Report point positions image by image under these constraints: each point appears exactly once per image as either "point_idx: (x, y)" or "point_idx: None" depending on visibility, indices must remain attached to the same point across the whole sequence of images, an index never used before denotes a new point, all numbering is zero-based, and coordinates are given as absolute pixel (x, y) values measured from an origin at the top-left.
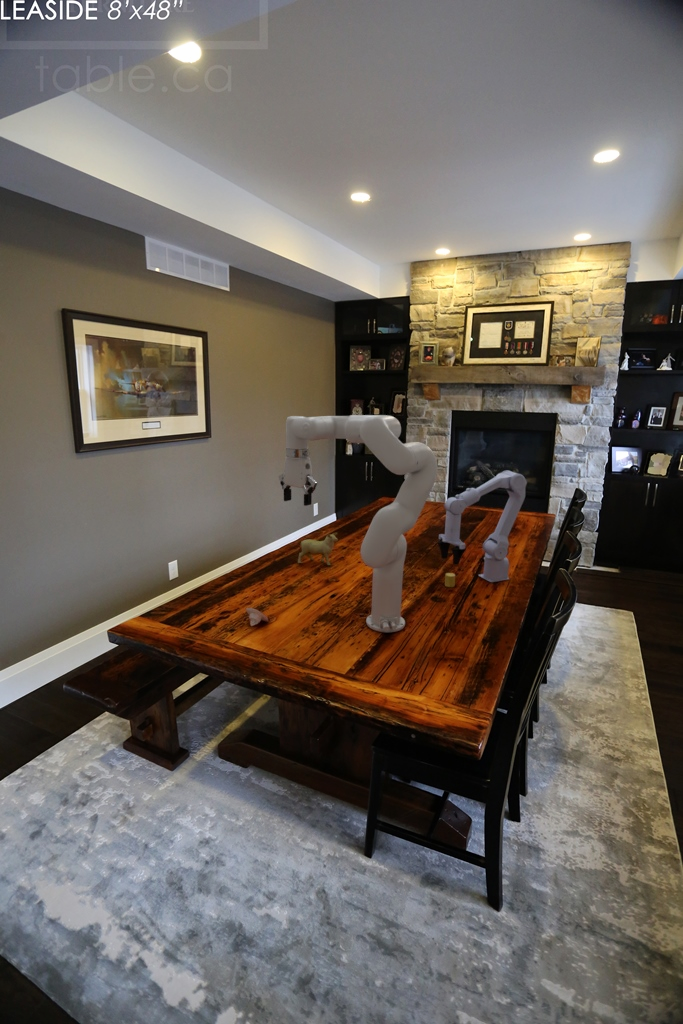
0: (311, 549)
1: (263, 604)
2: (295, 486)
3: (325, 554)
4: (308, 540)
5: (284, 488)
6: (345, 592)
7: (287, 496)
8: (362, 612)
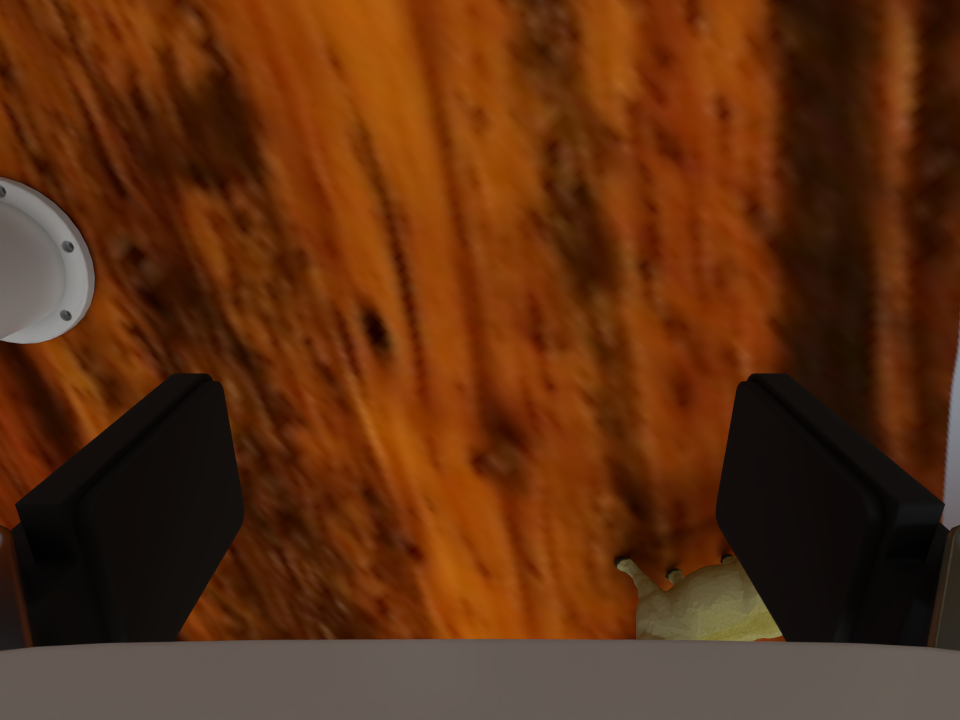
0: (720, 573)
1: (556, 16)
2: (355, 642)
3: (649, 590)
4: (770, 614)
5: (956, 554)
6: (364, 394)
7: (766, 475)
8: (159, 284)
